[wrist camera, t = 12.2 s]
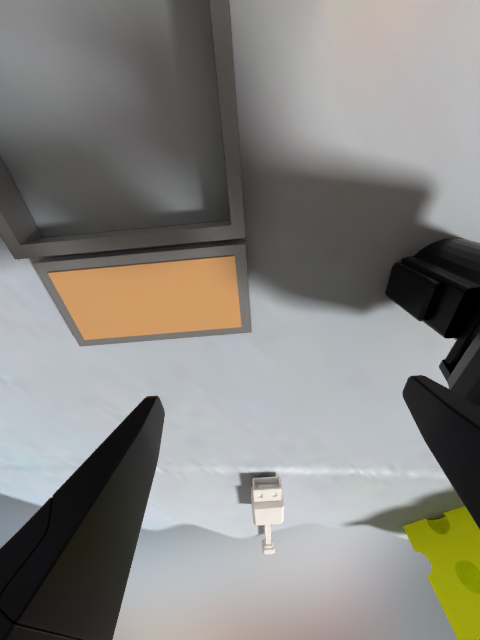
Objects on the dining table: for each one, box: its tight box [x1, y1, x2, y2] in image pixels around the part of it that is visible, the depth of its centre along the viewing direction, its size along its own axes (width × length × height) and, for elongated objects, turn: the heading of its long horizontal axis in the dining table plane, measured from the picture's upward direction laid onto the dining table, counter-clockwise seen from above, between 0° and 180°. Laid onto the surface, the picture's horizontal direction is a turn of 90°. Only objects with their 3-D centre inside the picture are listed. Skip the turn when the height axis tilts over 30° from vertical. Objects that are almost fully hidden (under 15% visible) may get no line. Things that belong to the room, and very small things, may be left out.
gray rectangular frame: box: [0, 0, 246, 259], centre depth 11 cm, size 15×17×2 cm
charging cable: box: [251, 476, 284, 554], centre depth 41 cm, size 5×31×3 cm, turn 4°
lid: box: [32, 240, 252, 346], centre depth 18 cm, size 15×7×1 cm, turn 95°
